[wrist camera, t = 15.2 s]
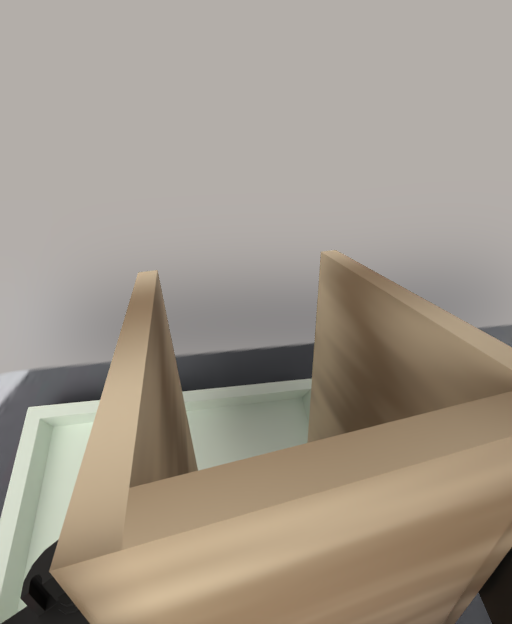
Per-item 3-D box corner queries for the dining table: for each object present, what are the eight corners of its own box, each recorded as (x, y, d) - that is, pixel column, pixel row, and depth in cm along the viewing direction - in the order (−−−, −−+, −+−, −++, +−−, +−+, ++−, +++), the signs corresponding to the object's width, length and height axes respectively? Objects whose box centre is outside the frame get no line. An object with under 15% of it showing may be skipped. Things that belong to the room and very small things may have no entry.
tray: (305, 390, 26) (317, 377, 23) (356, 586, 19) (381, 597, 16) (47, 419, 21) (28, 407, 19) (-11, 694, 14) (-53, 732, 12)
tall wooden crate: (418, 672, 10) (616, 405, 4) (205, 770, 8) (49, 571, 3) (316, 458, 17) (335, 250, 11) (190, 492, 15) (138, 272, 9)
